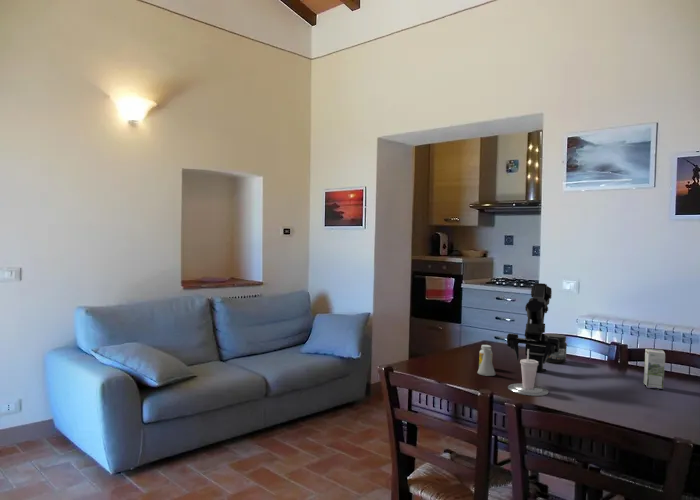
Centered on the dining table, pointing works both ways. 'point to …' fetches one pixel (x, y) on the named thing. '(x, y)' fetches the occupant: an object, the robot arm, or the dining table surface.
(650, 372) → the syrup box
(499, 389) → the dining table surface
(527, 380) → the smoothie
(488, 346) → the supplement bottle
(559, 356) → the supplement container
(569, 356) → the dining table surface
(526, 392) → the grey stepped round plate
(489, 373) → the flask
